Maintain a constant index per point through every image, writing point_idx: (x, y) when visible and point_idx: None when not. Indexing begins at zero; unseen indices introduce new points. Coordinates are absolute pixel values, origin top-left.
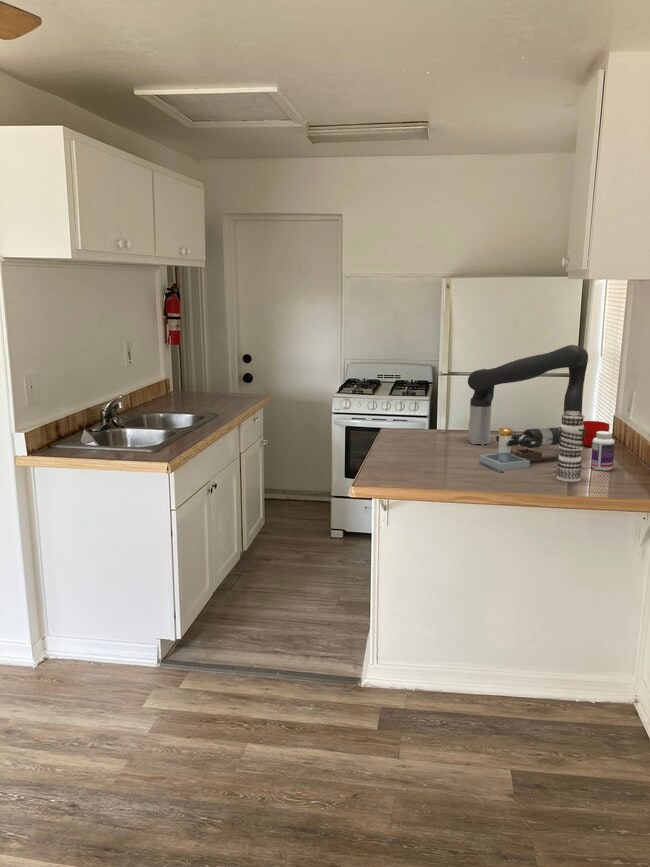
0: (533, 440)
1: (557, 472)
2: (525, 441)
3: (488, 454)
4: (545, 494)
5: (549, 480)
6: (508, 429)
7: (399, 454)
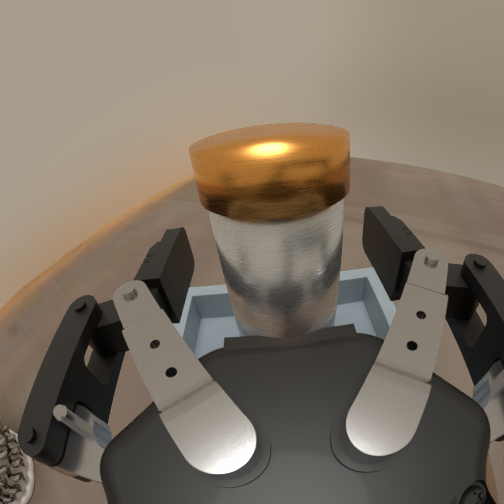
0: (30, 417)
1: (9, 436)
2: (70, 323)
3: (391, 303)
4: (13, 309)
5: None
6: (244, 140)
7: (448, 187)
